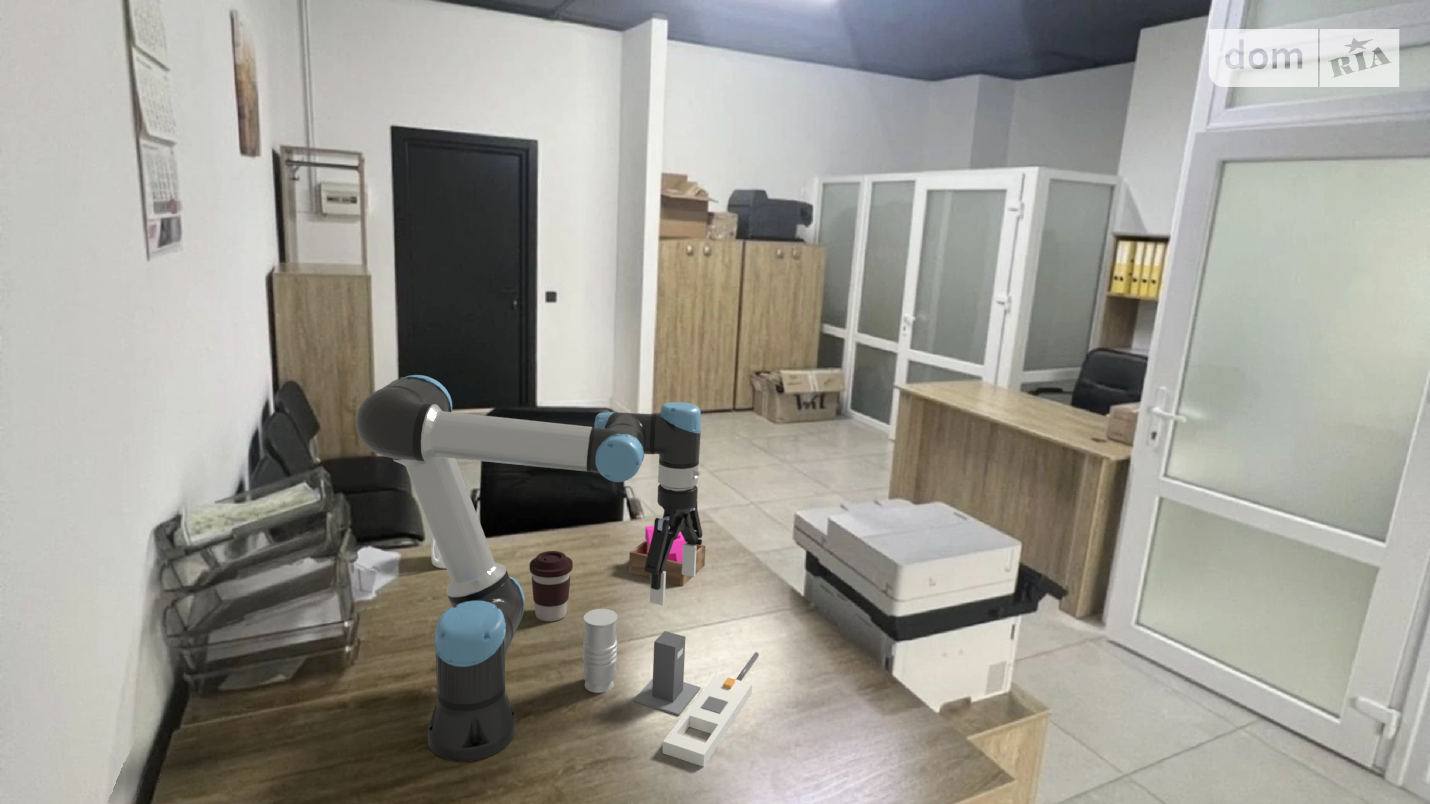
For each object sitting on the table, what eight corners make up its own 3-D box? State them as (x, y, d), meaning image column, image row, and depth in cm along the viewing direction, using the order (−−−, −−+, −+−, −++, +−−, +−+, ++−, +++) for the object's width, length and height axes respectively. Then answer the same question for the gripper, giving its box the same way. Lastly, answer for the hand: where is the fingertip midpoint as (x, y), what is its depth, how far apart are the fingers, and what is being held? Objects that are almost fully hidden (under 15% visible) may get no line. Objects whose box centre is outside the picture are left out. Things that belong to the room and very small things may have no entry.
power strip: (703, 766, 133) (704, 750, 133) (662, 753, 136) (663, 737, 136) (773, 660, 168) (774, 647, 167) (739, 651, 171) (740, 638, 170)
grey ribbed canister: (611, 672, 160) (613, 606, 157) (620, 690, 154) (621, 622, 151) (579, 677, 158) (580, 610, 154) (586, 696, 151) (587, 627, 148)
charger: (673, 702, 150) (675, 647, 148) (652, 696, 152) (654, 641, 149) (683, 690, 154) (685, 636, 152) (662, 684, 156) (664, 630, 154)
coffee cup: (577, 607, 187) (577, 549, 183) (565, 627, 177) (565, 567, 174) (537, 603, 188) (537, 546, 184) (523, 623, 178) (523, 563, 175)
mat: (679, 715, 147) (679, 714, 147) (633, 701, 151) (633, 699, 151) (700, 688, 156) (700, 687, 156) (656, 675, 160) (656, 674, 160)
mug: (473, 556, 212) (472, 516, 209) (457, 574, 200) (456, 533, 198) (439, 553, 212) (438, 514, 210) (421, 572, 200) (420, 530, 198)
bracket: (644, 561, 214) (645, 526, 212) (679, 558, 217) (681, 524, 215) (653, 579, 203) (655, 543, 201) (691, 576, 206) (693, 540, 204)
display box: (682, 586, 201) (683, 564, 199) (629, 572, 207) (629, 552, 205) (704, 565, 213) (705, 545, 212) (653, 554, 219) (653, 534, 218)
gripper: (665, 508, 131) (661, 621, 136) (722, 470, 154) (716, 568, 158) (627, 500, 134) (624, 611, 139) (688, 464, 157) (683, 560, 161)
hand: (673, 588), depth 149 cm, fingers open, 13 cm apart
